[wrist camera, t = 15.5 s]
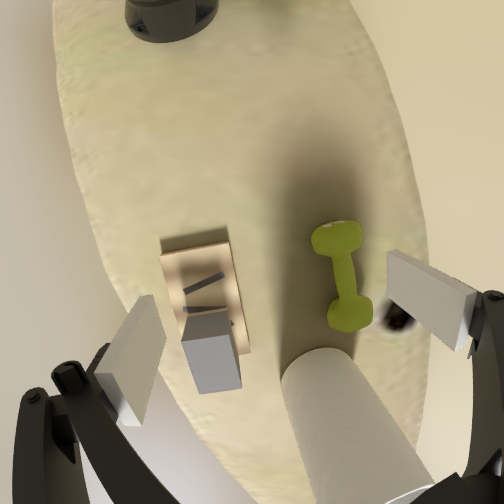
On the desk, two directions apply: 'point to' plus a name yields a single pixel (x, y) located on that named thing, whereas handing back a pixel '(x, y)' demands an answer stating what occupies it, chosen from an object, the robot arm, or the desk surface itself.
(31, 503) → the robot arm
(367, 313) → the dumbbell
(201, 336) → the block
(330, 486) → the vase
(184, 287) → the board
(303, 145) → the desk surface
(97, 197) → the desk surface
